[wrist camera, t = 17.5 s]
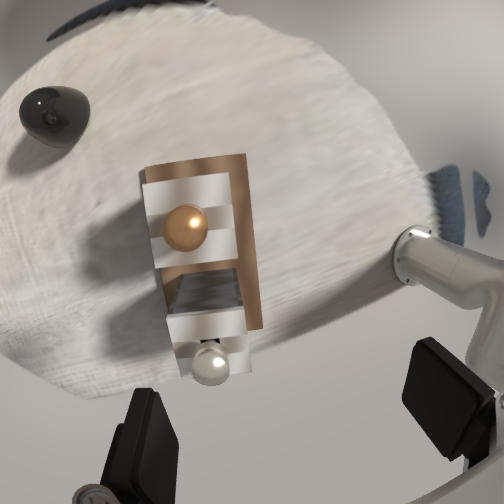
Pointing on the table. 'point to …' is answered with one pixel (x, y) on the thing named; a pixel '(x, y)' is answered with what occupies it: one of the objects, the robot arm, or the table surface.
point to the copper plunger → (185, 227)
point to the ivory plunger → (210, 363)
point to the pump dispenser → (55, 115)
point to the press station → (207, 257)
